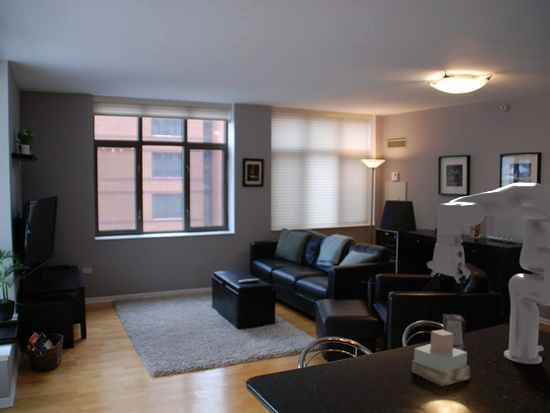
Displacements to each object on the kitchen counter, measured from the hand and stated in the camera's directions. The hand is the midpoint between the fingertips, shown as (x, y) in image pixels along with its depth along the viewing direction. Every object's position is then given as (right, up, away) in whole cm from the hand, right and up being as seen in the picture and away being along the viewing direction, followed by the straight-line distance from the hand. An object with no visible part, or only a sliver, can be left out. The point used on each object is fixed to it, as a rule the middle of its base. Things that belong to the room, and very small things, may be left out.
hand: (447, 291), depth 161 cm
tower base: (-2, -29, +2) cm, 29 cm away
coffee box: (+7, -28, +15) cm, 33 cm away
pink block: (-1, -20, +1) cm, 20 cm away
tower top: (-2, -24, +1) cm, 25 cm away
